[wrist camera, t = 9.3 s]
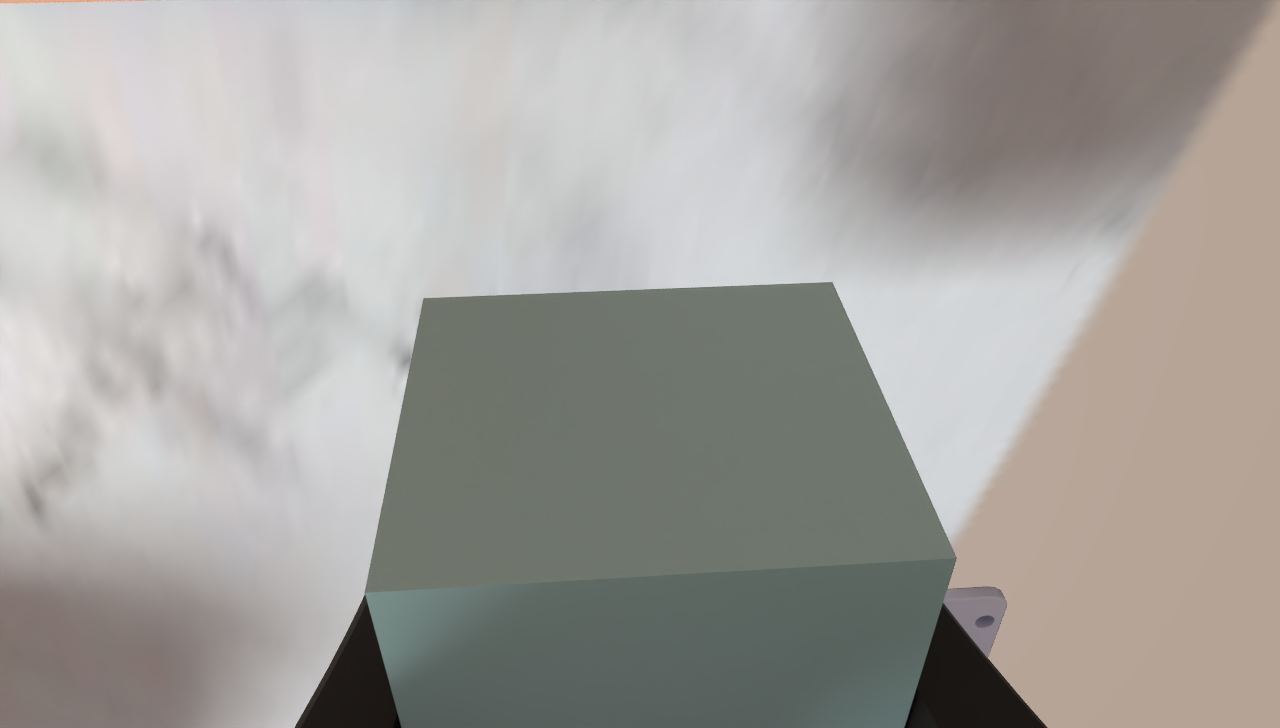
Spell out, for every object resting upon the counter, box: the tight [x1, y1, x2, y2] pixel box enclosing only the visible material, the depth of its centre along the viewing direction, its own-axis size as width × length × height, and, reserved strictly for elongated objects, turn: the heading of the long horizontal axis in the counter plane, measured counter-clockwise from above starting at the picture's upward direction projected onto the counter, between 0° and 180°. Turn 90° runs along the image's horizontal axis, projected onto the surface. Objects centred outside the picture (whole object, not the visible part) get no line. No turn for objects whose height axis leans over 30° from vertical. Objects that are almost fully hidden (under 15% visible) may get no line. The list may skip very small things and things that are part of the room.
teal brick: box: [365, 282, 957, 728], centre depth 11 cm, size 7×4×4 cm, turn 0°
